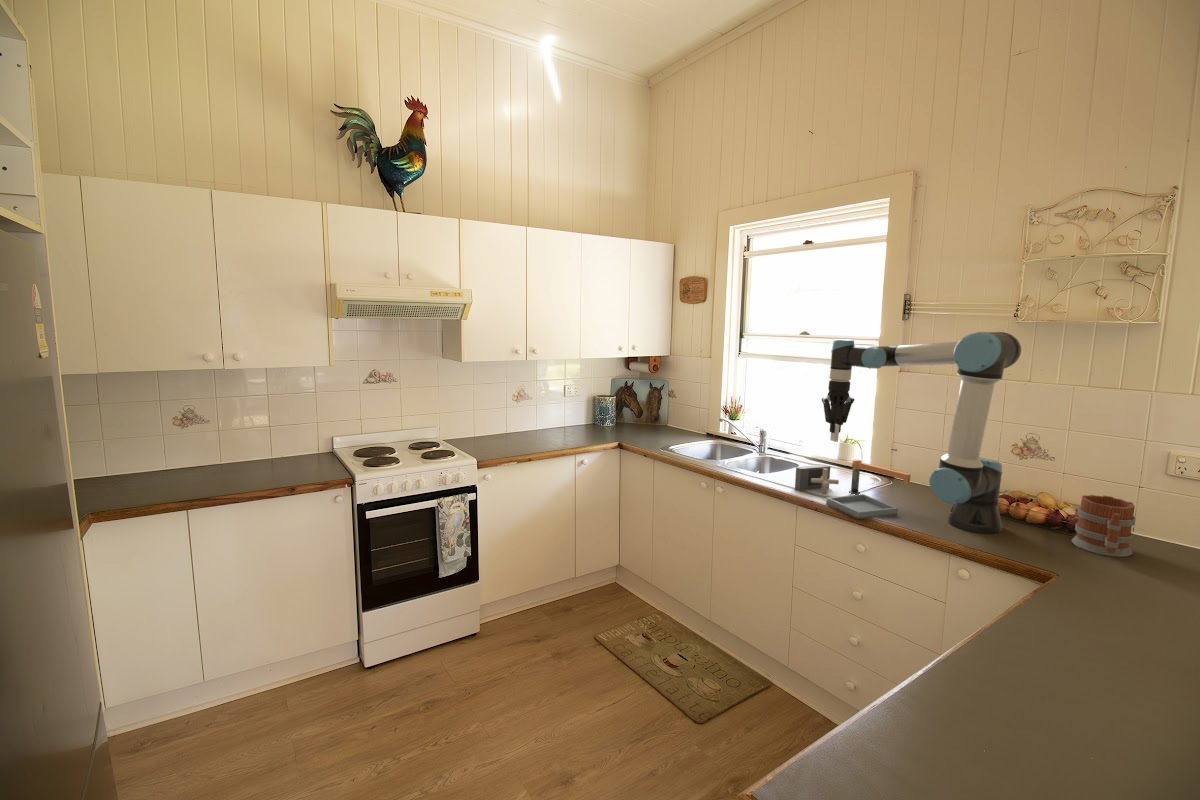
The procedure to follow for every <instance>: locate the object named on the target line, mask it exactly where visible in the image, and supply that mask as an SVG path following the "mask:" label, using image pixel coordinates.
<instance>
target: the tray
mask: <svg viewBox="0 0 1200 800" xmlns="http://www.w3.org/2000/svg"><path fill="white" fill-rule="evenodd" d="M825 501H826V503H825V505H827V506H829V507H831V508H832V509H835V510H837V511H839V512H842V513H843V514H846V515H848V516H850V517H853V518H854V519H856V520H864V519H865V520H866V519H873V518H875V517H876V518H882V517H883V518H884V517H890V516H891V517H893V516H898V512H899V511H898V509H899V508H898V507H896V506H893V505H891V504H889V503H886V502H883V501H882V500H879V499H876V498H875V497H872V496H869V495H866V494H864V493H863V494H861V493H860V495H851V494H849V495H842V496H841V495H840V496H832V497H826V500H825Z"/></svg>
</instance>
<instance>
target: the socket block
mask: <svg viewBox="0 0 1200 800" xmlns="http://www.w3.org/2000/svg"><path fill="white" fill-rule="evenodd" d="M823 468H826V469H828V477H827V479H831V466H830V465H827V464H818V465H804V466H796V467H795V479H794V480H795V481H794V489H795V490H797V491H799V492H803V491H811V490H820V489H821V490H822V483H811V478H818V479H820V477H821V476H823ZM829 488H830V486H829V487H827V489H829Z"/></svg>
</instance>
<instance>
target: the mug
mask: <svg viewBox="0 0 1200 800" xmlns="http://www.w3.org/2000/svg"><path fill="white" fill-rule="evenodd" d="M1135 507H1136V506H1135V504H1134V503H1133V502H1131V501H1126V500H1124V499H1122V498H1116V497H1114V496H1111V495H1110V496H1109V495H1102V496H1101V495H1095V494H1089V495H1086V494H1083V495H1082V496H1081V502H1080V506H1078V508H1077V512H1076V513H1077V515H1078V521H1077V522H1076V523H1075V528H1074V530H1075V531H1076V535H1075V536H1074V537H1073V538H1071V542H1072V543H1073V545H1074V546H1076V547H1077V548H1078V549H1081V550H1084V551H1086V552H1090V553H1093V554H1096V555H1102V556H1108V557H1114V558H1125V557H1129V556H1131V555H1133V550H1132V549H1131V547H1130V543H1132V542H1133V538H1134V534H1133V533H1132V527H1133V526H1134V525H1136V516H1134V514H1135Z"/></svg>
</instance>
